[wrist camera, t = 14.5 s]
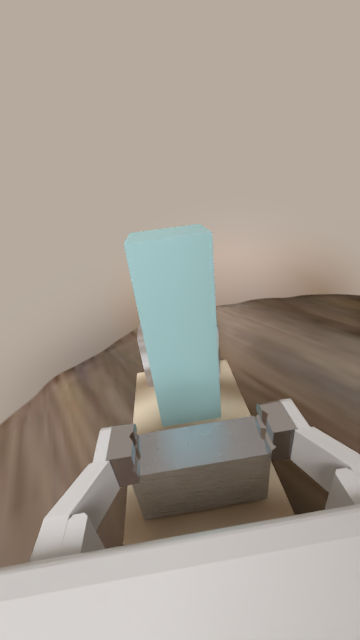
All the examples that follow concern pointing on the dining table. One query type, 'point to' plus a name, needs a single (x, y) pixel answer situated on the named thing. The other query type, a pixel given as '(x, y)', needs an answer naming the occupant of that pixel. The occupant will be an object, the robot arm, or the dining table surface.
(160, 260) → the teal block
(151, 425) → the vise base
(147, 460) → the block
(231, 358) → the dining table surface
